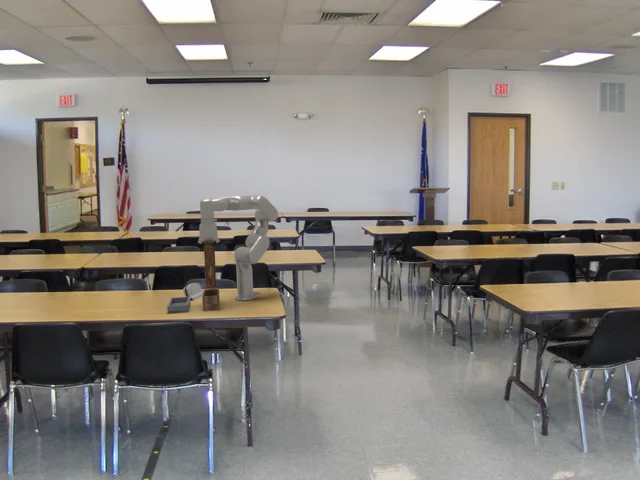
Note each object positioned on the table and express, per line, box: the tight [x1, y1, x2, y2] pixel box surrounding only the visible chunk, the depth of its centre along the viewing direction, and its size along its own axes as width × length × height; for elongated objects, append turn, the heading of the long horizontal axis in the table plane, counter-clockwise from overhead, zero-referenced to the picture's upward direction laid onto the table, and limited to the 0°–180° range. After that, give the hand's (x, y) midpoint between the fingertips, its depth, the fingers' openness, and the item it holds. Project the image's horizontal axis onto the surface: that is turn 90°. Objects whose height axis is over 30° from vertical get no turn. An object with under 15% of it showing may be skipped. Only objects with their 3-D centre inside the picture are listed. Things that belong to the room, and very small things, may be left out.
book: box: [203, 241, 217, 289], centre depth 312 cm, size 16×6×25 cm, turn 13°
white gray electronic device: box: [182, 282, 203, 301], centre depth 339 cm, size 17×5×10 cm, turn 165°
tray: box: [166, 296, 191, 314], centre depth 312 cm, size 11×22×4 cm, turn 10°
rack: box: [201, 288, 221, 312], centre depth 315 cm, size 9×21×8 cm, turn 10°
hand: (209, 253), depth 312 cm, fingers closed on book
